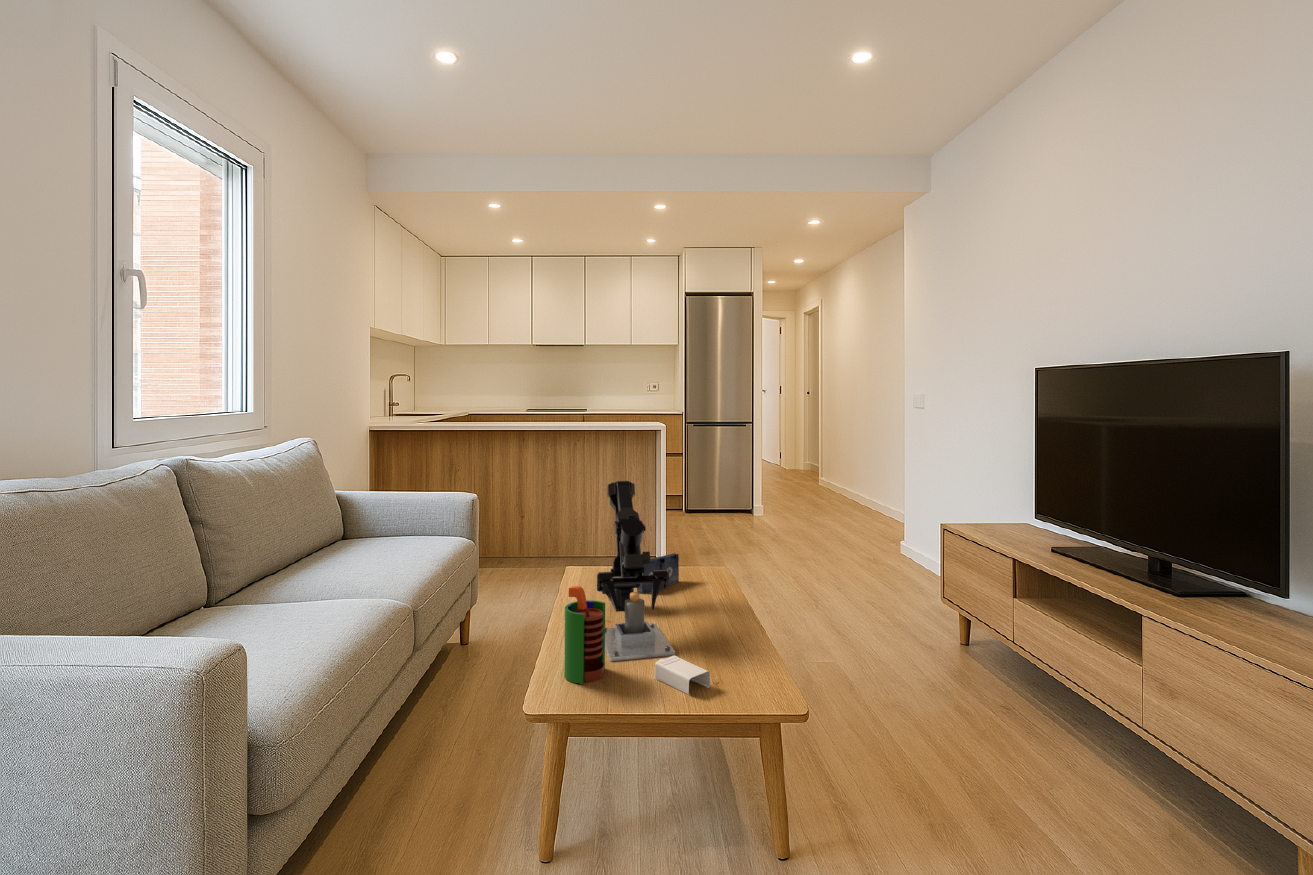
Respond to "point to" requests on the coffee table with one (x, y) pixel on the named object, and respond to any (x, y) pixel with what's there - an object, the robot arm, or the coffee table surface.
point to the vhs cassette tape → (661, 563)
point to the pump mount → (636, 643)
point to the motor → (584, 638)
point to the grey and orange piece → (634, 614)
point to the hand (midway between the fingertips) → (635, 610)
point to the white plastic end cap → (680, 673)
